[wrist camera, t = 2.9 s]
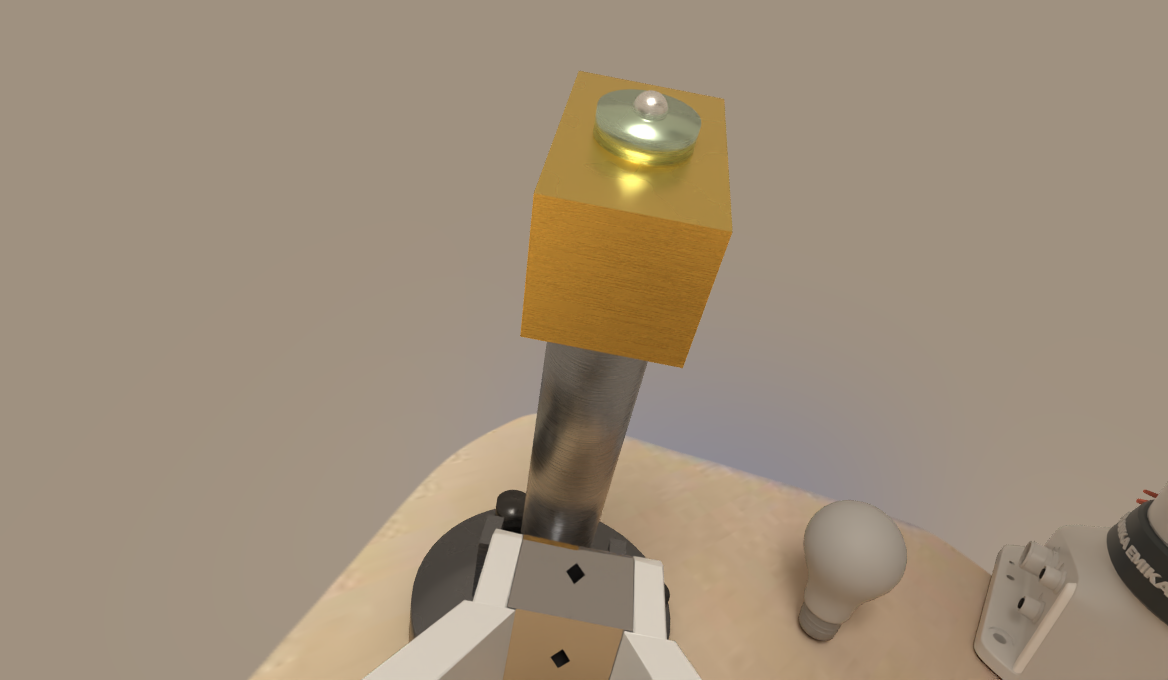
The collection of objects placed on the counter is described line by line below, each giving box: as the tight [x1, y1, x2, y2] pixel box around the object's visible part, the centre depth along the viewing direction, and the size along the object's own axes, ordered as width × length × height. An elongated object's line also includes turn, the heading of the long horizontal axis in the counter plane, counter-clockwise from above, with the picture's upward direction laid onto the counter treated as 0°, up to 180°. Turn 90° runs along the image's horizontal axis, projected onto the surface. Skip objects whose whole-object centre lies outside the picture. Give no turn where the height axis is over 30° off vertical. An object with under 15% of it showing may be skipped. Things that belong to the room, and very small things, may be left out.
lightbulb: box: [799, 500, 907, 641], centre depth 42 cm, size 6×6×11 cm
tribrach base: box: [409, 490, 670, 642], centre depth 39 cm, size 16×16×7 cm
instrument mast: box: [520, 71, 732, 548], centre depth 28 cm, size 8×6×31 cm
